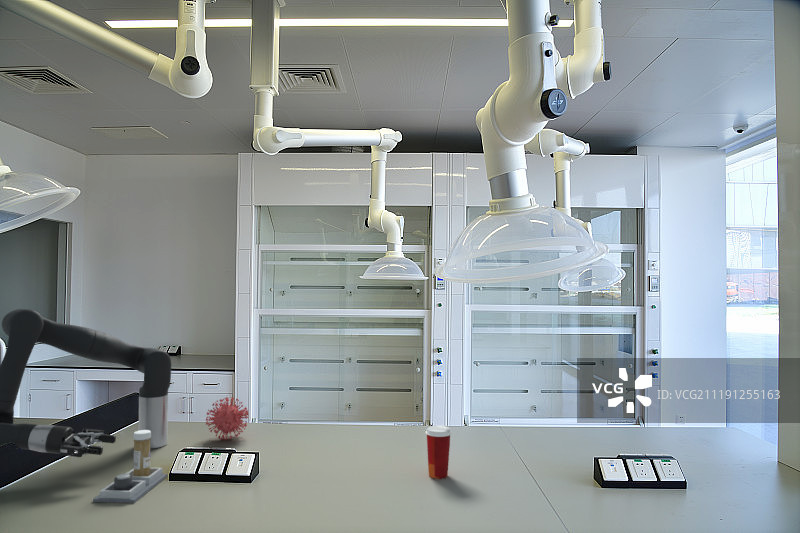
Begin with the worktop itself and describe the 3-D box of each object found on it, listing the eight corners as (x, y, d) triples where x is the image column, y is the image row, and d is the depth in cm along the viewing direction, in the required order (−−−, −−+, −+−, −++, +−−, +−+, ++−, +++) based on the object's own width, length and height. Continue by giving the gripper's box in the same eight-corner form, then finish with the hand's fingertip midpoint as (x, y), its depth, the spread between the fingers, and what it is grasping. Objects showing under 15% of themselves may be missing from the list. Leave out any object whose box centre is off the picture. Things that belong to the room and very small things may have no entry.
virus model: (207, 434, 212) (208, 394, 212) (248, 432, 215) (249, 392, 216) (203, 446, 198) (204, 402, 198) (247, 443, 201) (248, 401, 201)
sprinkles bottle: (151, 479, 163) (152, 432, 163) (134, 482, 161) (135, 434, 161) (148, 474, 167) (149, 428, 167) (131, 477, 165) (132, 430, 165)
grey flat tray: (130, 475, 168) (130, 457, 168) (167, 476, 168) (167, 458, 168) (92, 501, 149) (93, 481, 149) (134, 502, 149) (134, 482, 149)
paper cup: (454, 473, 173) (455, 427, 173) (445, 481, 166) (446, 433, 166) (430, 469, 176) (430, 424, 176) (420, 477, 169) (421, 430, 169)
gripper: (38, 435, 158) (99, 441, 159) (65, 417, 172) (120, 423, 173) (36, 461, 158) (96, 467, 159) (62, 442, 172) (118, 447, 174)
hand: (108, 444), depth 166 cm, fingers open, 8 cm apart
